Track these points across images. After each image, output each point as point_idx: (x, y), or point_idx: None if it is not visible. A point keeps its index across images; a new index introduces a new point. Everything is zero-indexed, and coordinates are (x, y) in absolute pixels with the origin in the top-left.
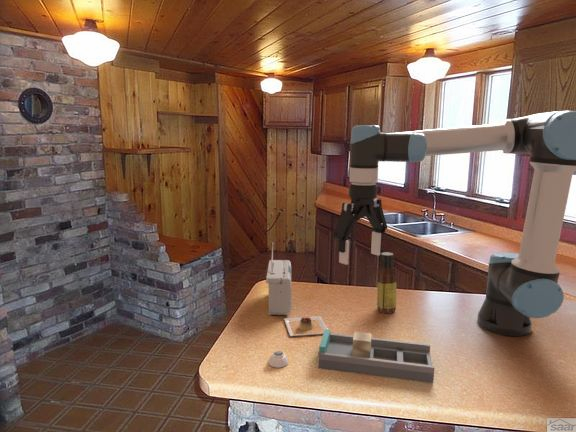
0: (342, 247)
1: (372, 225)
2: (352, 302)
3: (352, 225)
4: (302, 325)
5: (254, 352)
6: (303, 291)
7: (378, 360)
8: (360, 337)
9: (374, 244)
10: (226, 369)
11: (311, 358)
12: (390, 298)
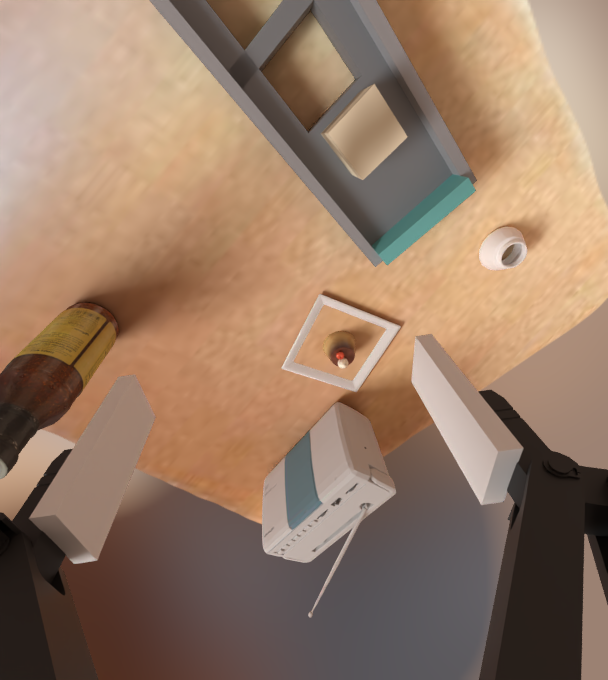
0: (515, 418)
1: (76, 631)
2: (157, 393)
3: (552, 634)
4: (354, 346)
5: (497, 309)
6: (232, 471)
7: (384, 22)
8: (377, 134)
9: (124, 450)
10: (580, 282)
11: None
12: (73, 325)
